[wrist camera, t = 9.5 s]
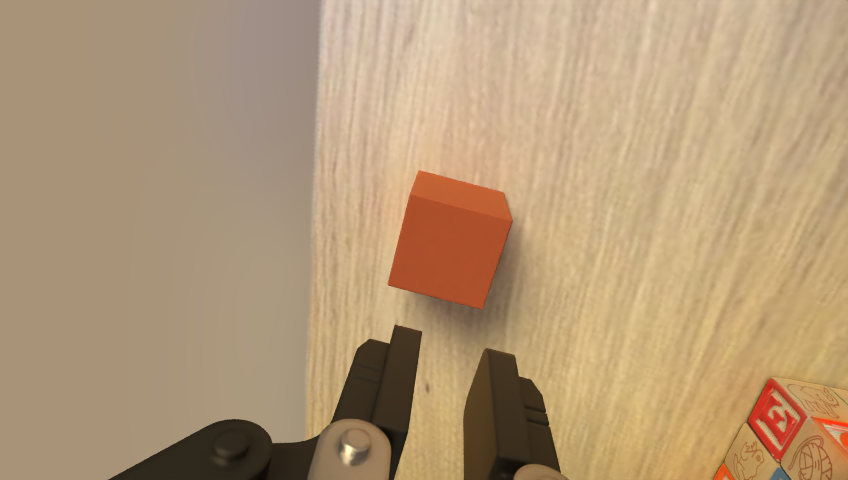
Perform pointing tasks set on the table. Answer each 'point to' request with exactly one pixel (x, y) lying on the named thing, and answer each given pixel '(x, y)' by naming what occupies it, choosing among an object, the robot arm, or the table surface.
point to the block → (450, 240)
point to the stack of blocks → (792, 435)
